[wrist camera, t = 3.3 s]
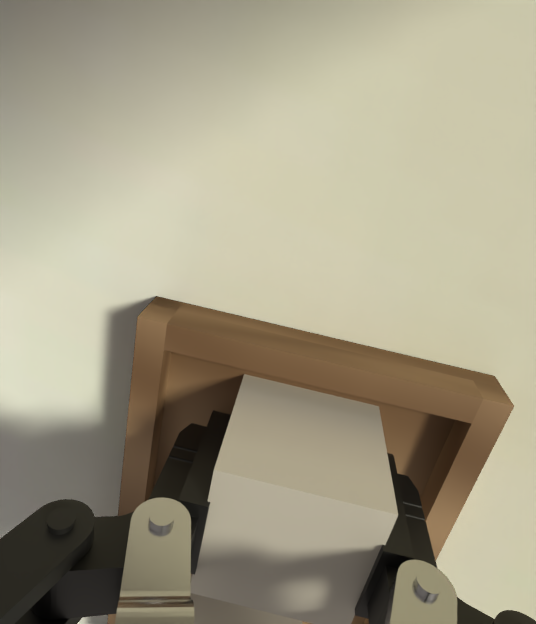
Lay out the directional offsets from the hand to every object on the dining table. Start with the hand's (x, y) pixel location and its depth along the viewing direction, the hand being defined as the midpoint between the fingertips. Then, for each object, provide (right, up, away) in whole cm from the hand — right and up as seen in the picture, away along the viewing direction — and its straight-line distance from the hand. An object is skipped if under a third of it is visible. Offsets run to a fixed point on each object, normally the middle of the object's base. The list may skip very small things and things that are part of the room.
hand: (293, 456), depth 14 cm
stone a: (0, 0, 0) cm, 1 cm away
